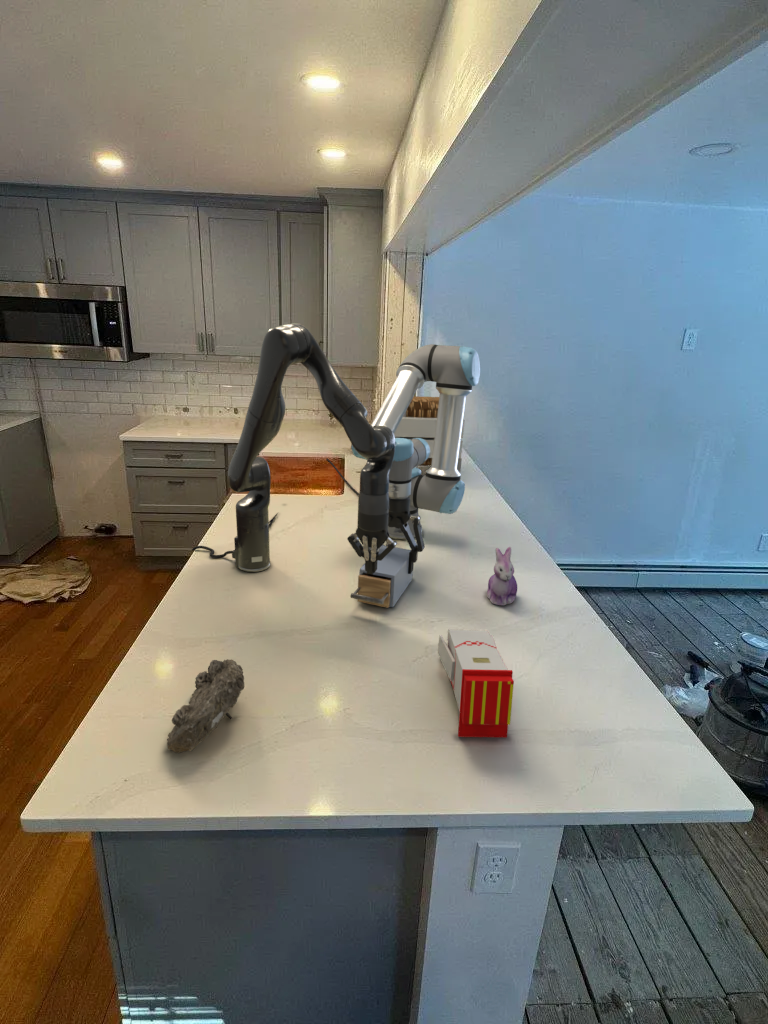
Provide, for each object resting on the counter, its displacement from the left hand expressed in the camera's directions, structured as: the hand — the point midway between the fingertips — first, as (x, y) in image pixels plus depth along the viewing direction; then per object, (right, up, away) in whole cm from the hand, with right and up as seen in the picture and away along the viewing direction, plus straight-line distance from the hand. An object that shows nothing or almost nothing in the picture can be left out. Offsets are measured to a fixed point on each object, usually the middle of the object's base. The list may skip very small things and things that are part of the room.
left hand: (370, 572), depth 144 cm
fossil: (-29, -24, -36) cm, 52 cm away
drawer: (+2, -7, +11) cm, 13 cm away
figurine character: (-12, +49, +168) cm, 175 cm away
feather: (-37, +14, +67) cm, 77 cm away
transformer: (+21, +34, +131) cm, 137 cm away
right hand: (+6, -1, +20) cm, 20 cm away
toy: (+21, -22, -25) cm, 40 cm away
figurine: (+36, -9, +14) cm, 40 cm away
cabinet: (+4, -6, +16) cm, 18 cm away
